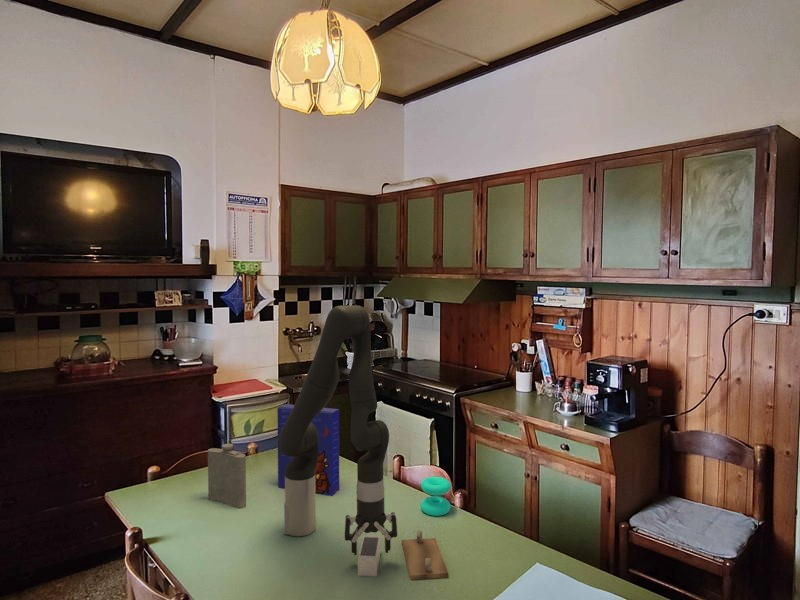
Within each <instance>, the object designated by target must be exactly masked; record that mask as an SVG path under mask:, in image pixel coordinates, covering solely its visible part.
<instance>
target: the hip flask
mask: <svg viewBox="0 0 800 600" xmlns="http://www.w3.org/2000/svg"><path fill="white" fill-rule="evenodd" d="M221 446H222V447H221V448H215V447H212V448H209V449H208V450H207V483H208V489H207V490H208V492H207V493H208V500H209V501H211V502H217V503H222V504H225V505H228V506H231V507H233V508H237V509H243V508H246V507H247V477H246V476H247V475H246V474H247V470H246V469H247V468H246V467H247V466H246V463H247V462H246V458H247V457H246V454H245V453H242V452H238V451H235V450H234V444H233V443H225V444H222V445H221Z"/></svg>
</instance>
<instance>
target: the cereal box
mask: <svg viewBox="0 0 800 600" xmlns="http://www.w3.org/2000/svg"><path fill="white" fill-rule="evenodd" d="M294 405H295V404H290V403H286V404H282V405H280V406H279V407H277V409H276V410H277V412H276V413H277V488H278V489H283V490H285V467H286V465H287V464H288V463H289V462H290V461H291V460H292V459H293V457H287V456H285V455H283V454H282V452H281V451H280V448H279V436H280V433H281V430H282V428H283V426H284V425H285V423H286V421H287V419H288V417H289V416H290V414H291V412H292V410H293V408H294ZM311 422H312V423H313V424H314V425H315V427H316V429H317V431H318V436H319V449H318V464H317V467H316V470H315V495H322V496H327V497H328V496H329V497H333V496H334V495H335V494H336V493H338V492H339V490H340V409H339V408H330V407H329V408H328V407H324V408H323V409H322V410H321V411H320V412H319V413H318V414H317V416H316V417H315V418H314V419H313V420H312V421H311Z"/></svg>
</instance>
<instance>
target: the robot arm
mask: <svg viewBox="0 0 800 600" xmlns="http://www.w3.org/2000/svg"><path fill="white" fill-rule="evenodd" d="M371 337H372V336H371V321H370V317H369V313H368V312H367V310H366V308H364V307H363V306H362V305H361V306H360V305H355V304H354V305H337V306H334V307H333V308H332V309H331V310H330V311H329V312H328V314H327V316H326V319H325V321H324V325H323V328H322V332H321V337H320V340H319V342H318V346H317V349H316V352H315V354H314V357H313V360H312V362H311V365H310V367H309V370H308V371H307V374H306V376H305V379H304V381H303V384H302V386H301V389H300V391H299V394H298V397H297V399H296V401H295V403H294V404H293V405H294V408H293V410H292V412H291V414H290V416H289V417H288V419H287V421H286V423H285V425H284V426H283V428H282V430H281V433H280V436H279V448H280V451H281V452H282V454H283V455H285V456H287V457H293V459H292V460H291V461H290V462H289V463H288V464H287V465H286V467H285V489H284V503H283V504H284V506H283V507H284V509H283V515H284V516H283V517H284V523H283V525H284V529H283V530H284V535H285V536H287V535H289V536H292V537H304V536H309V535H310V534H312V533H313V532H315V531H316V527H317V526H316V524H317V523H316V522H317V520H316V519H317V517H316V516H317V515H316V514H317V513H316V505H317V504H316V494H315V470H316V467H317V464H318V449H319V436H318V431H317V429H316V427H315V425H314V424H313V423H312V422H311V421H312V420H313V419H314V418H315V417H316V416H317V414H318V413H319V412H320V411H321V410H322V409H323V408H326V406H327V405H328V404H329V402H330V400H331V399H332V397H333V396H334V393H335V390H336V388H337V386H338V384H339V381H340V370H339V369H340V368H339V364H338V356H339V355H338V354H339V352H340V350H341V347H342V345H343V343H344V342H345V340H348V339H350V340H351V342H352V347H353V355H352V356H353V358H352V363H351V367H350V370H349V373H348V381H347V383H348V385H347V386H348V393H349V398H350V399H349V400H350V405H351V416H350V417H351V418H350V431H349V436H350V442H351V443H352V446H353V447H354V448H355V449H356V450H357V451H358V452H366V451H367V452H366V453H365V454H363V455H362V456H360V457H359V459H357V474H356V475H357V476H356V477H357V481H356V515H355V516H350V515H349V514H346V515H345V518H344V519H345V521H344V522H345V523H344V524H345V525H344V541H346V542H347V541H349V542H351V543H350V544H351V547H350V548H351V553H352V554H354V556H358V546H357V544H358V543H357V540H358V539H359V537H361V536H363V533H364V534H370V533H378V532H380V534H382V536H383V537H384V553H385V554H388V553H389V551H390V552H391V549H392V548H391V544H392V543H391V540H392V539H393V538H397V537H398V526H397V516H396V513H395V512H394V511H392V512H391V513H388V514H386V513H385V483H384V462H385V458H386V455H387V450H388V447H389V443H390V442H389V441H390V431H389V428H388V426H387V424H386V423H385V422H384V421H382V420H381V419H376V420H372V421H368V420H369V415H370V414H371V413H373V412H375V411H376V410H377V408H378V401H377V394H376V389H375V386H374V385H375V384H374V376H373V370H372V369H373V368H372V342H371V340H372V339H371ZM387 521H388V523H389V524H391V530H390V531H389V530H388V529H387V527H386V525H384V524H385V522H387ZM354 523H356V525H357V526H356V528H355V530H354V531H353V532H352V533H351V526H353V525H354Z"/></svg>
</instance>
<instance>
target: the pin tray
mask: <svg viewBox="0 0 800 600" xmlns="http://www.w3.org/2000/svg"><path fill="white" fill-rule="evenodd" d="M401 547H402V551H403V554H404V560H405V563H406V568H407V571H408V576H409V580H410V581H411V580H412V581H415V580H427V579H428V580H430V579H444V578H445V579H446V578H449V572H448V569H447V566H446V563H445V561H444V558H443V555H442V553H441V550H440V547H439V544H438V542H437V539H436V537H431V538H430V537H427V538H423V530H417V531H416V538H414V539H410V538H409V539H401Z"/></svg>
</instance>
